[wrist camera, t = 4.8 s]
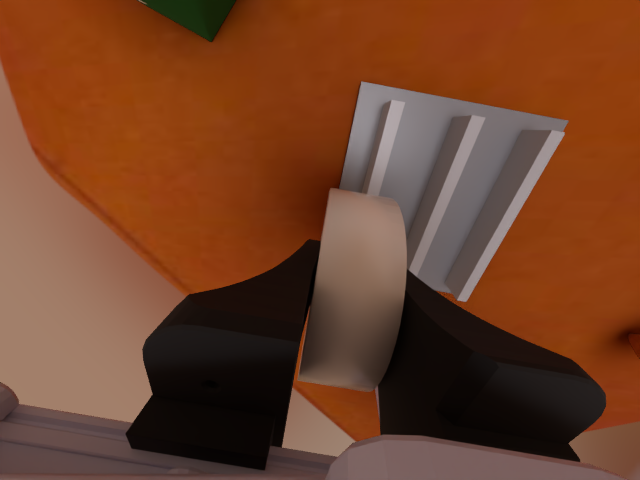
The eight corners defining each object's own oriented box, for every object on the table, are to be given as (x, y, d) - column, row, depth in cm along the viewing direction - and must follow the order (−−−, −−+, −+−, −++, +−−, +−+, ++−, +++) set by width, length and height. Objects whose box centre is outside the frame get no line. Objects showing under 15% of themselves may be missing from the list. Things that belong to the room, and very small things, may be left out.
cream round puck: (347, 296, 16) (355, 438, 8) (311, 290, 16) (289, 427, 8) (378, 180, 12) (438, 255, 5) (332, 172, 12) (324, 235, 5)
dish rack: (463, 291, 22) (481, 314, 20) (322, 266, 22) (320, 285, 19) (560, 121, 16) (607, 119, 13) (360, 83, 15) (365, 73, 13)
